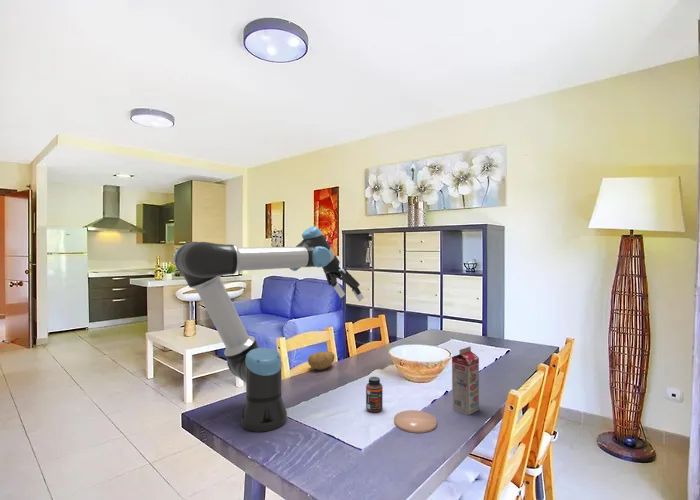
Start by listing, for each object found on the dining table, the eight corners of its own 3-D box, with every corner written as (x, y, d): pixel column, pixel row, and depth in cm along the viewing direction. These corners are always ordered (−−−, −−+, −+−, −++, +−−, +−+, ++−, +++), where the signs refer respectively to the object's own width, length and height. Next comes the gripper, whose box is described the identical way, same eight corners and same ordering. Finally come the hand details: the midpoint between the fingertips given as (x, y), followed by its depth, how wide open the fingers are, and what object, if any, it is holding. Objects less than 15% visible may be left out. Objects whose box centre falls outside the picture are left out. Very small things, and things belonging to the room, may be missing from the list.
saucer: (431, 436, 117) (431, 433, 117) (388, 427, 122) (388, 424, 122) (440, 417, 129) (440, 414, 129) (400, 410, 135) (400, 407, 135)
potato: (339, 368, 182) (339, 351, 182) (314, 374, 173) (314, 357, 173) (328, 363, 189) (328, 347, 189) (304, 369, 181) (303, 352, 181)
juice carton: (452, 408, 136) (451, 347, 136) (462, 403, 140) (462, 344, 140) (468, 415, 131) (468, 351, 130) (479, 409, 135) (478, 348, 135)
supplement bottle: (369, 414, 132) (368, 382, 132) (363, 407, 138) (363, 376, 138) (385, 412, 134) (384, 380, 134) (379, 405, 140) (379, 374, 140)
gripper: (351, 254, 151) (375, 294, 159) (318, 253, 171) (341, 289, 179) (339, 266, 147) (364, 307, 155) (306, 264, 167) (330, 300, 175)
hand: (351, 297), depth 167 cm, fingers open, 13 cm apart
